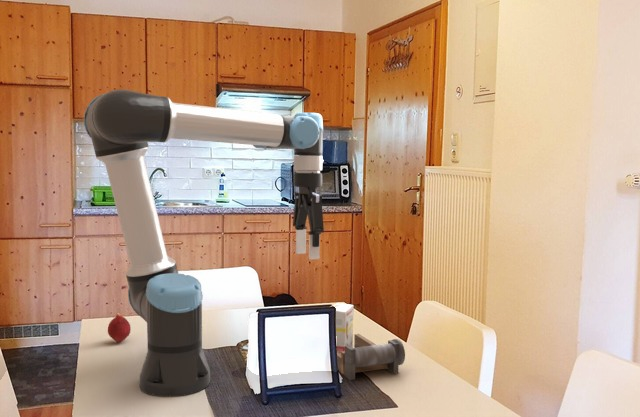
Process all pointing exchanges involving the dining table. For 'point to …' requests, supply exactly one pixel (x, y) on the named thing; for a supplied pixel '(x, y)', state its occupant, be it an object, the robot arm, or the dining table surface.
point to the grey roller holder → (370, 356)
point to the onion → (119, 328)
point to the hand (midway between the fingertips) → (307, 256)
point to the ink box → (344, 325)
